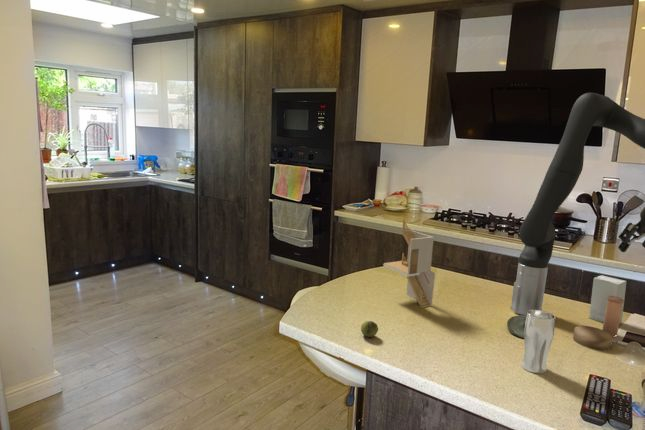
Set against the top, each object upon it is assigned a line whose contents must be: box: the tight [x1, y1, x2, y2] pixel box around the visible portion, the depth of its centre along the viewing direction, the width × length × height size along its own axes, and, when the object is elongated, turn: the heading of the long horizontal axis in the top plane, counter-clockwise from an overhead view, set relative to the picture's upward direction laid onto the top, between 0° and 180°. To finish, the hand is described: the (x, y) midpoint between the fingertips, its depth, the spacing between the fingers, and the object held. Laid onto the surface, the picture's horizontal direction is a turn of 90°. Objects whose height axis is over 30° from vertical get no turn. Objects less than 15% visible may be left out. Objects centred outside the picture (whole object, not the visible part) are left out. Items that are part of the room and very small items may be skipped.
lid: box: [506, 314, 527, 340], centre depth 142 cm, size 11×10×5 cm
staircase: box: [382, 219, 436, 308], centre depth 163 cm, size 10×16×29 cm, turn 30°
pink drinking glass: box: [602, 296, 625, 336], centre depth 144 cm, size 4×4×12 cm
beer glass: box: [520, 309, 556, 374], centre depth 119 cm, size 7×7×15 cm
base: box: [572, 325, 614, 351], centre depth 138 cm, size 10×10×3 cm
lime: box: [360, 320, 379, 338], centre depth 134 cm, size 4×5×5 cm
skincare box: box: [588, 274, 628, 325], centre depth 154 cm, size 8×6×15 cm
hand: (633, 248), depth 138 cm, fingers open, 8 cm apart
